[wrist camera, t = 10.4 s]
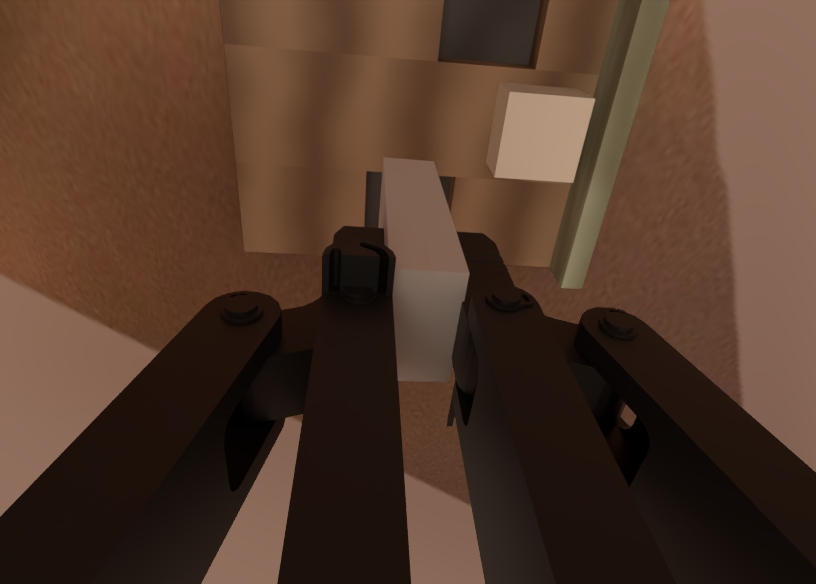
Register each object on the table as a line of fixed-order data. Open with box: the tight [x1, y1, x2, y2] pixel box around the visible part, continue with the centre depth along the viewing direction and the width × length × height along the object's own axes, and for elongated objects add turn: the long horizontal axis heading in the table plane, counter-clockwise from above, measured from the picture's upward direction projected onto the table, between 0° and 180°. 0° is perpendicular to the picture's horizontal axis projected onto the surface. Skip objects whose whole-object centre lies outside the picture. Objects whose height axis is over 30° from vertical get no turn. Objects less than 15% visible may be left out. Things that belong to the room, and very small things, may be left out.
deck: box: [219, 0, 670, 289], centre depth 32 cm, size 24×20×5 cm
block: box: [486, 82, 595, 183], centre depth 31 cm, size 5×5×3 cm
